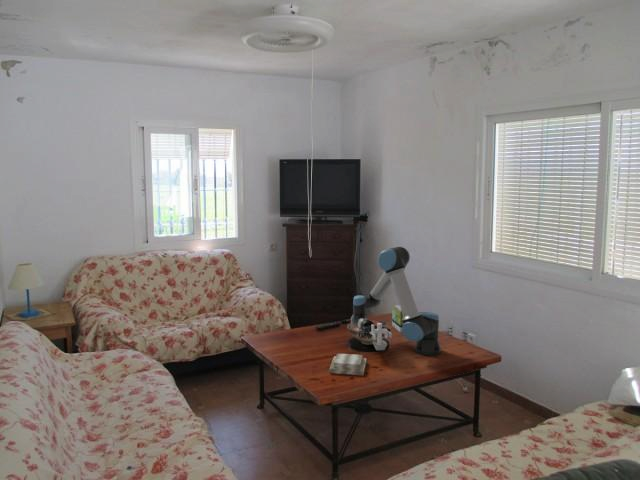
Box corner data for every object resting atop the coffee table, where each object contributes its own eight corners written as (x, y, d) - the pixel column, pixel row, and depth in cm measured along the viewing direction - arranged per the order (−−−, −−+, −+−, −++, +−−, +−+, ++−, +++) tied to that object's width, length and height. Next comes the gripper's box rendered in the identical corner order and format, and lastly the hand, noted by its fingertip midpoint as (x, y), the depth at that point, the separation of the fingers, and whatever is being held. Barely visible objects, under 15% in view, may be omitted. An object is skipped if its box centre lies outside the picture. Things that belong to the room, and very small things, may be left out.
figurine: (389, 350, 290) (389, 324, 288) (372, 351, 289) (372, 325, 287) (386, 346, 297) (386, 321, 295) (370, 347, 296) (370, 321, 294)
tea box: (391, 326, 351) (391, 305, 349) (405, 325, 354) (405, 304, 352) (400, 333, 337) (400, 311, 335) (414, 331, 339) (414, 310, 337)
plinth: (366, 362, 286) (366, 353, 286) (363, 375, 269) (363, 366, 268) (334, 360, 289) (334, 351, 289) (329, 373, 272) (329, 363, 271)
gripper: (382, 329, 313) (400, 340, 292) (349, 333, 306) (365, 345, 285) (382, 317, 312) (400, 327, 291) (349, 321, 305) (365, 332, 284)
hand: (383, 336), depth 288 cm, fingers closed on figurine, 9 cm apart
